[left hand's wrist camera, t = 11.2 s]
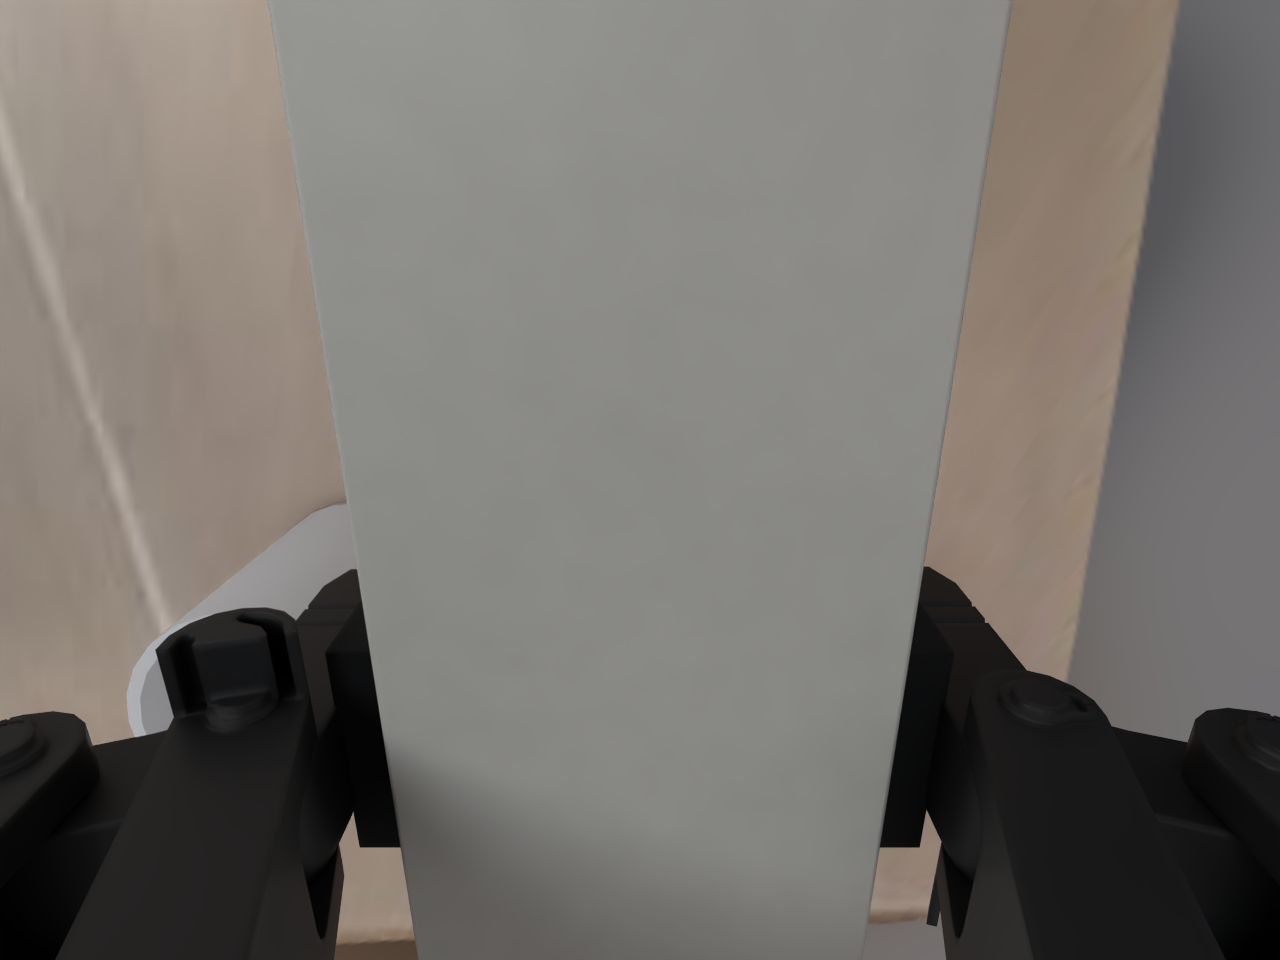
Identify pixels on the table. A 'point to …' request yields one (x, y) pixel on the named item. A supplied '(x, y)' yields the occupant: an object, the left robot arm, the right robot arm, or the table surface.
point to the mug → (253, 599)
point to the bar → (640, 439)
